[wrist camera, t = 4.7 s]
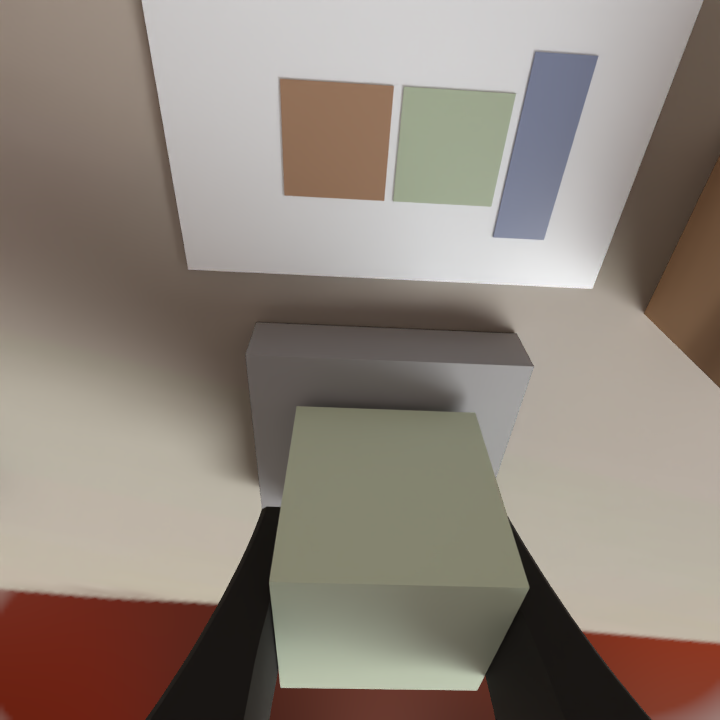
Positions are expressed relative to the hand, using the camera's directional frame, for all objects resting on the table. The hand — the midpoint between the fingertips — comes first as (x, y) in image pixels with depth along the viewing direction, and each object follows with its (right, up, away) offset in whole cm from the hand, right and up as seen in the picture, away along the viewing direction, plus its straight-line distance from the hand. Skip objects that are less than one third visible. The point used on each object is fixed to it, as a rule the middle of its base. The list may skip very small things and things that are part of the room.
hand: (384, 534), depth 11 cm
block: (0, +1, +2) cm, 2 cm away
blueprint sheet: (0, +9, -2) cm, 9 cm away
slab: (0, +2, +3) cm, 4 cm away
